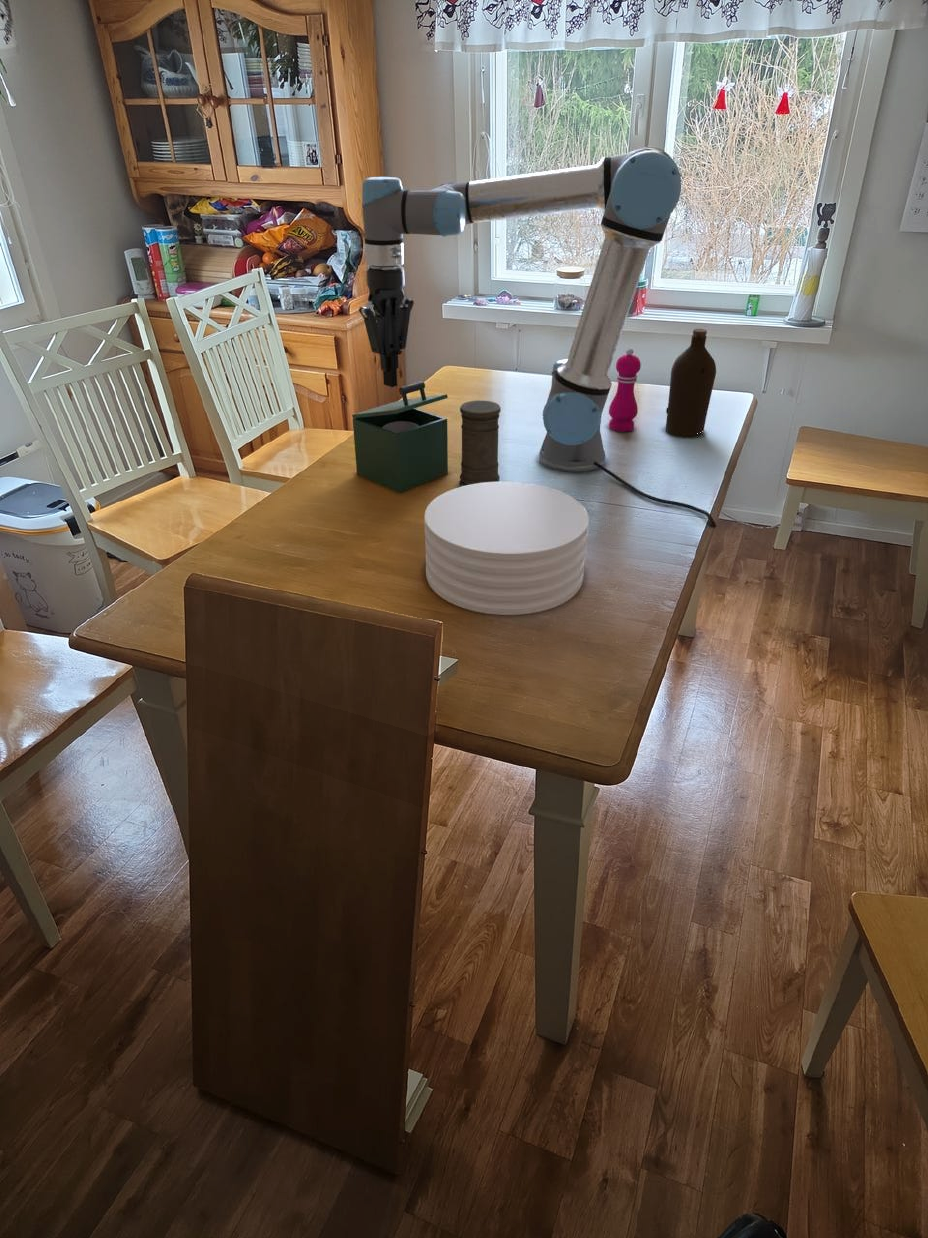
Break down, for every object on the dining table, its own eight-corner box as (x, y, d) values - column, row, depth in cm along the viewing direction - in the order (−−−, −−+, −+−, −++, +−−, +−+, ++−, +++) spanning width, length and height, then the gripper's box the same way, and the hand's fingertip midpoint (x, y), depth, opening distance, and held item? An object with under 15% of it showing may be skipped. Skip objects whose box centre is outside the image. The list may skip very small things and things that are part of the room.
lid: (448, 397, 169) (443, 375, 168) (396, 413, 161) (391, 390, 159) (403, 403, 180) (398, 382, 179) (352, 418, 172) (347, 396, 170)
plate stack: (609, 600, 134) (617, 540, 127) (450, 626, 127) (449, 564, 121) (548, 528, 156) (552, 474, 150) (410, 547, 149) (407, 491, 143)
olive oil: (714, 432, 202) (732, 330, 188) (688, 442, 196) (704, 337, 182) (680, 421, 208) (695, 322, 195) (654, 430, 203) (668, 329, 189)
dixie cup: (391, 480, 174) (389, 436, 168) (379, 466, 180) (376, 424, 175) (426, 474, 177) (425, 430, 171) (413, 461, 183) (411, 418, 178)
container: (496, 497, 168) (498, 414, 159) (455, 493, 170) (454, 411, 160) (503, 480, 176) (505, 400, 166) (463, 477, 177) (463, 397, 167)
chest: (448, 473, 179) (447, 418, 172) (399, 492, 170) (396, 435, 163) (404, 456, 188) (402, 403, 181) (356, 473, 179) (352, 418, 172)
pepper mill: (639, 426, 205) (649, 347, 194) (628, 434, 200) (638, 353, 189) (613, 421, 209) (622, 343, 198) (602, 429, 204) (610, 349, 193)
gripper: (371, 272, 151) (378, 395, 164) (422, 264, 158) (424, 382, 171) (347, 267, 155) (355, 387, 168) (397, 259, 163) (401, 375, 176)
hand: (390, 384), depth 170 cm, fingers closed
